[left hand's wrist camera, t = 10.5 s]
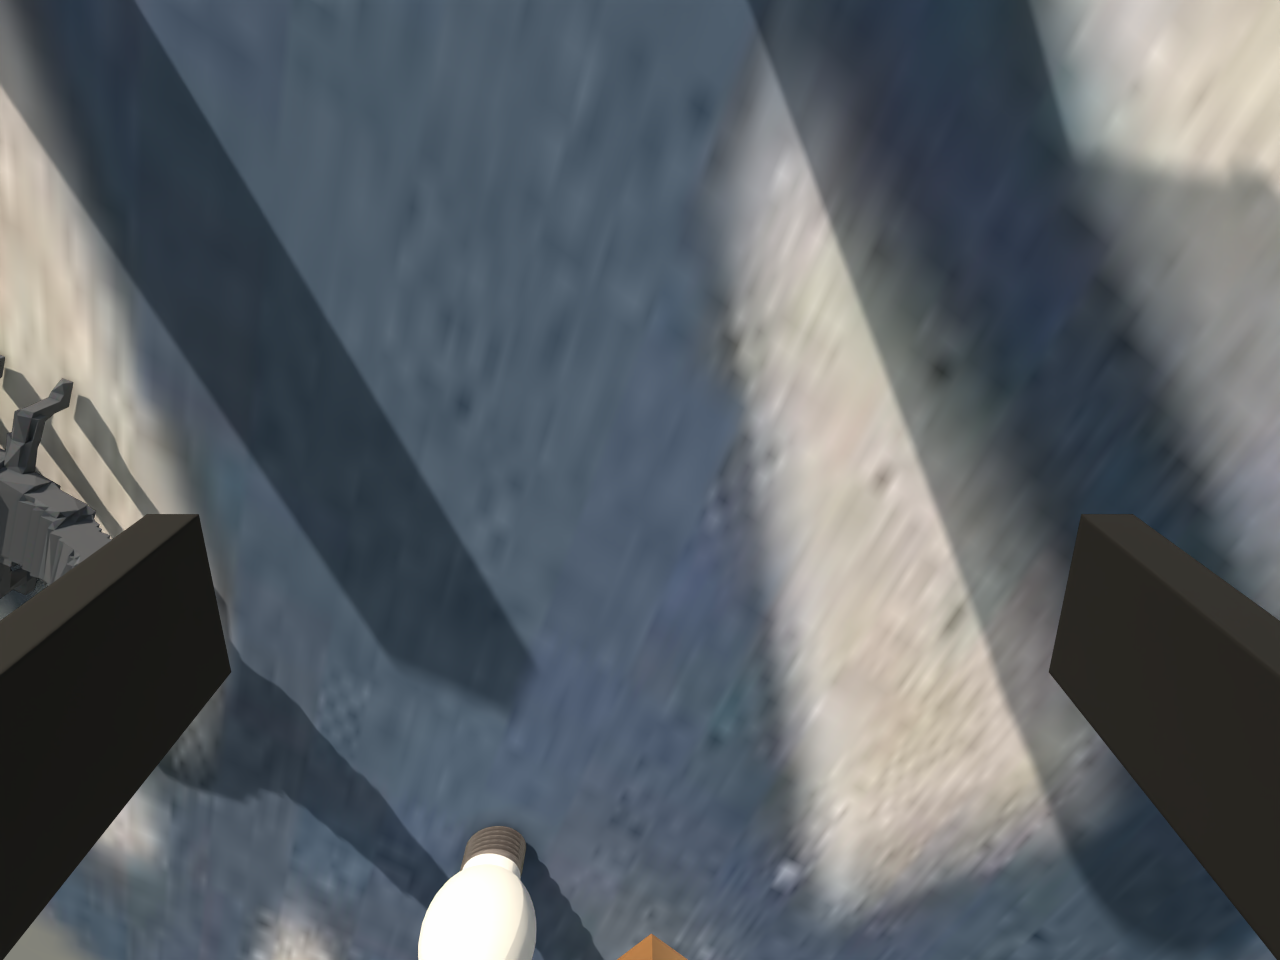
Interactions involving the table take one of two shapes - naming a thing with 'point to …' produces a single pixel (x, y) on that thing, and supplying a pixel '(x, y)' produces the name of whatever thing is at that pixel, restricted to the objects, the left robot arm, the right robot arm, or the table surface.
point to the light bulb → (483, 904)
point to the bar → (652, 951)
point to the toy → (39, 506)
